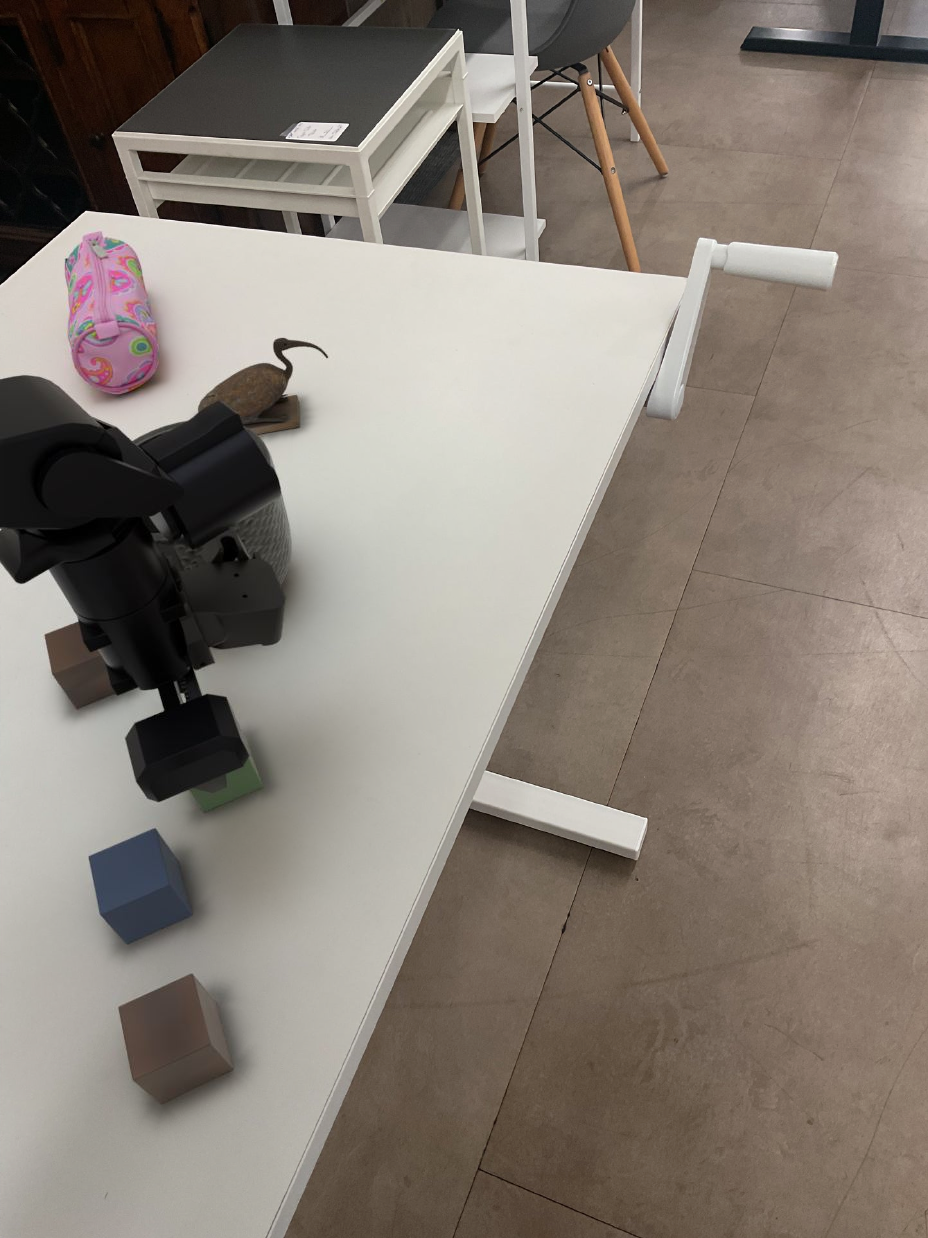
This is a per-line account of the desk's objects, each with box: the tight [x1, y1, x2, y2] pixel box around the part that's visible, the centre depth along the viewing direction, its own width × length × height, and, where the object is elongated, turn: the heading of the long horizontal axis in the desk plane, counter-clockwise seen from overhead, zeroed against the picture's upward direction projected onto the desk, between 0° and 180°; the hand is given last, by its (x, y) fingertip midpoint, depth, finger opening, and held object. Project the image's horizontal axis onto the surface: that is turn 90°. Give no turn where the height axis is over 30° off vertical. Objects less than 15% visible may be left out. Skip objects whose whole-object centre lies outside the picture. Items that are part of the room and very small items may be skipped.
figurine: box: [197, 337, 329, 435], centre depth 97 cm, size 14×4×9 cm, turn 97°
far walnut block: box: [44, 621, 116, 709], centre depth 79 cm, size 4×4×4 cm
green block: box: [188, 725, 264, 813], centre depth 71 cm, size 4×4×4 cm
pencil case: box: [64, 231, 161, 395], centre depth 110 cm, size 21×9×9 cm, turn 17°
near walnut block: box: [117, 973, 234, 1105], centre depth 59 cm, size 4×4×4 cm
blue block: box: [88, 827, 193, 945], centre depth 66 cm, size 4×4×4 cm
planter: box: [132, 420, 293, 586], centre depth 81 cm, size 14×14×13 cm
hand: (203, 737), depth 69 cm, fingers open, 9 cm apart
